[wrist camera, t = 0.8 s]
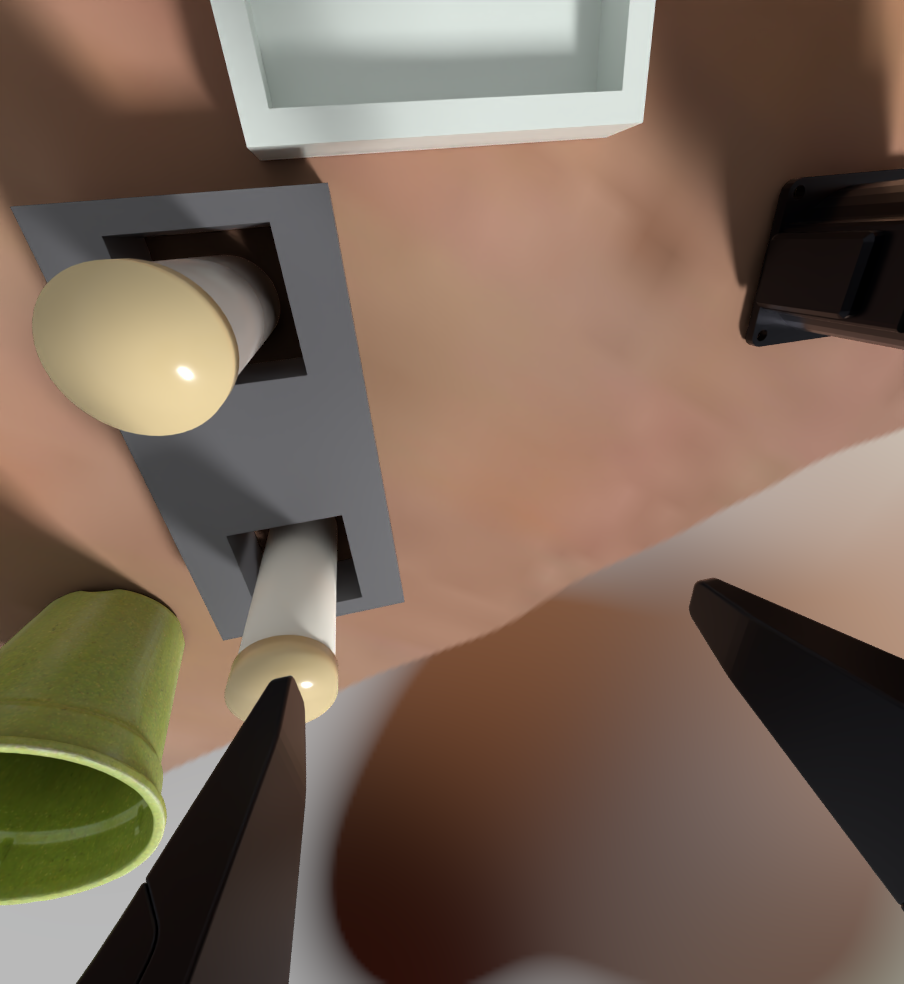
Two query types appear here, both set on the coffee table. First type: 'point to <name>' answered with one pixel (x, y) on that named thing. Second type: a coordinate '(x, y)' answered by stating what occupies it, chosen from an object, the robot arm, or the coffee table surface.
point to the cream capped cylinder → (153, 337)
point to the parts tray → (432, 72)
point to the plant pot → (84, 742)
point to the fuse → (291, 620)
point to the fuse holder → (254, 400)
